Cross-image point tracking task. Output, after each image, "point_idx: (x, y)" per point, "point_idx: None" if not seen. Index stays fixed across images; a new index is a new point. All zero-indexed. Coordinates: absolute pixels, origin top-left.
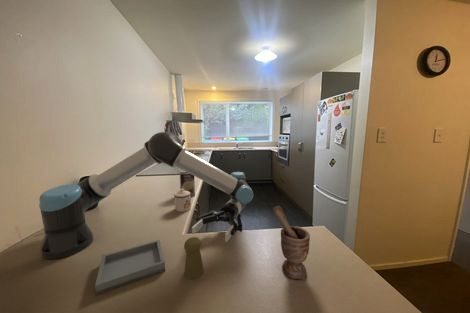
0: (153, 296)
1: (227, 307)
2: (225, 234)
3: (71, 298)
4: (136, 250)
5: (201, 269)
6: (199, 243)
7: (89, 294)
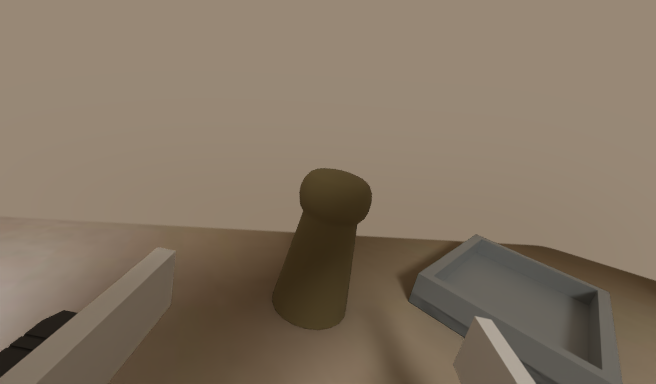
0: (363, 249)
1: (174, 227)
2: (170, 250)
3: None
4: (592, 337)
5: (279, 277)
6: (306, 177)
7: None
